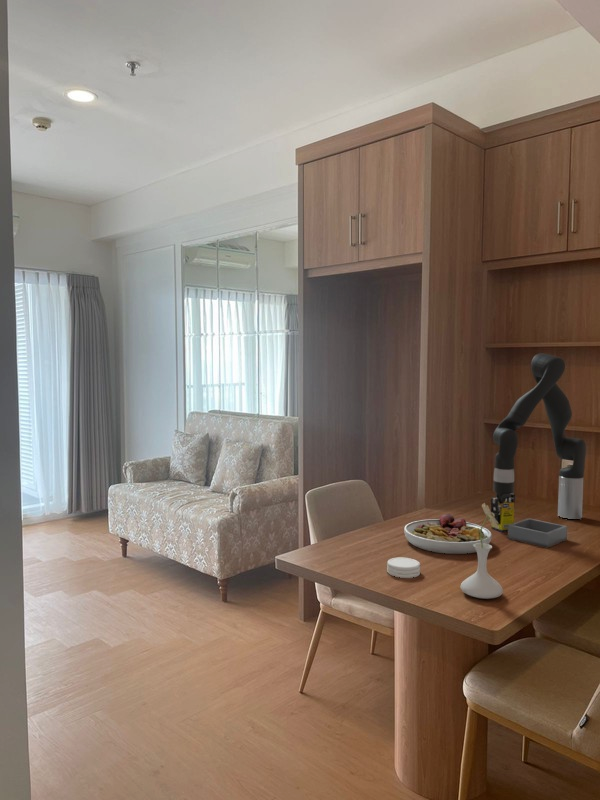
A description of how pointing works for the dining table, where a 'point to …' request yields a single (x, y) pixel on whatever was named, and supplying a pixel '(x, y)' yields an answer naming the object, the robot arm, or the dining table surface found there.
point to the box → (537, 532)
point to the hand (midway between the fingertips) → (502, 522)
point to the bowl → (446, 535)
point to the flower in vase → (482, 568)
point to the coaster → (403, 567)
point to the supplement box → (505, 516)
